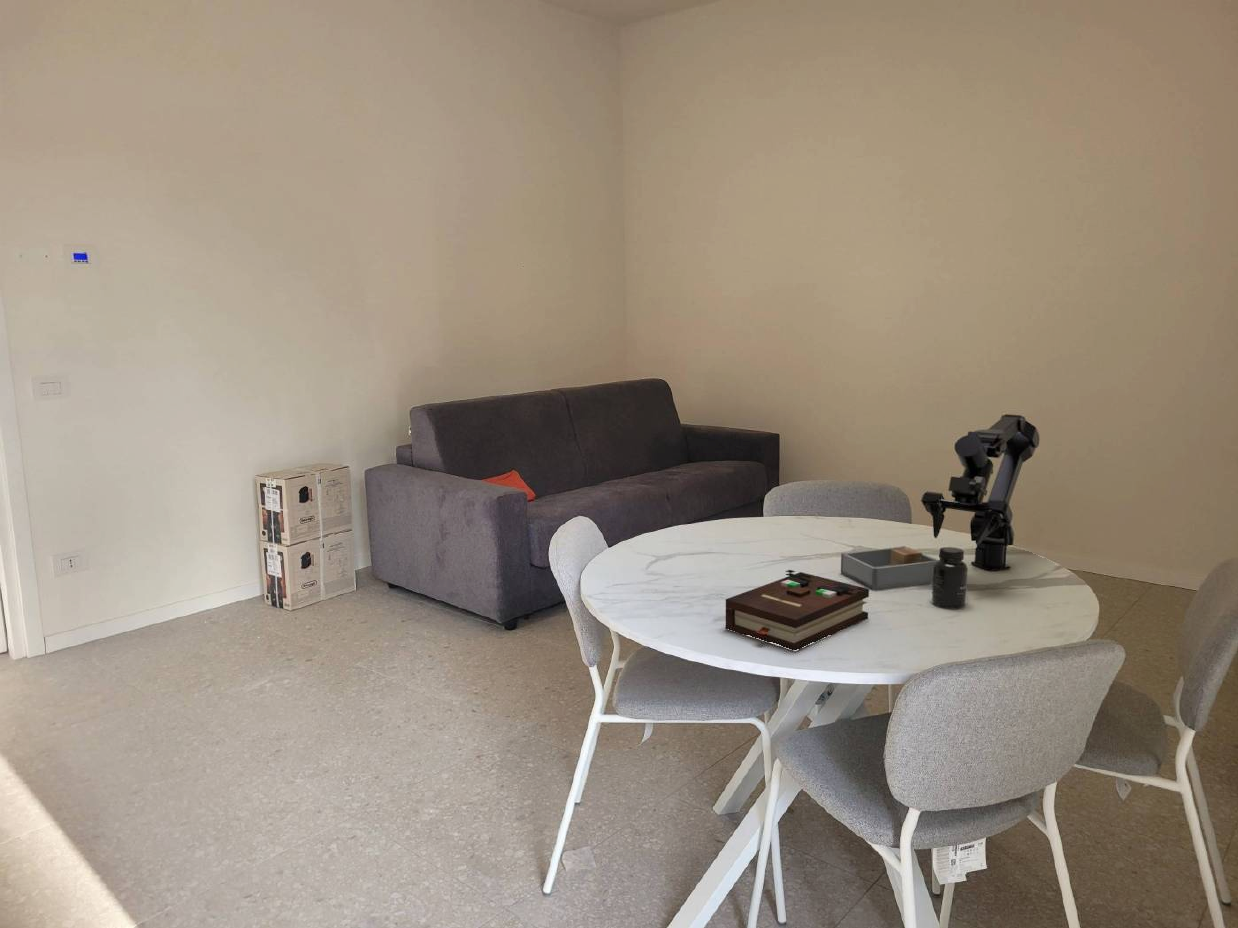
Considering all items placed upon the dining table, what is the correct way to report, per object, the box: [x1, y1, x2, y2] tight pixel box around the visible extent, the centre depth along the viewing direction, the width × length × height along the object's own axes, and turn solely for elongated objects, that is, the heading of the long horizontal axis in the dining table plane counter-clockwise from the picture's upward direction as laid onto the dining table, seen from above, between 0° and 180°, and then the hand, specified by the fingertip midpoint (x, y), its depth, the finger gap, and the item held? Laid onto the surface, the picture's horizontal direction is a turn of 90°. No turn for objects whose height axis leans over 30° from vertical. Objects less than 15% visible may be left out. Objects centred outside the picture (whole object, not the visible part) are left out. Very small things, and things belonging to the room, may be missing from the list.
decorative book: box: [725, 569, 870, 650], centre depth 184 cm, size 19×8×30 cm
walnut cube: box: [890, 546, 923, 566], centre depth 215 cm, size 5×5×5 cm
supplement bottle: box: [931, 546, 969, 609], centre depth 194 cm, size 7×7×12 cm
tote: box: [840, 545, 939, 591], centre depth 213 cm, size 18×14×5 cm
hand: (955, 540), depth 201 cm, fingers open, 9 cm apart
